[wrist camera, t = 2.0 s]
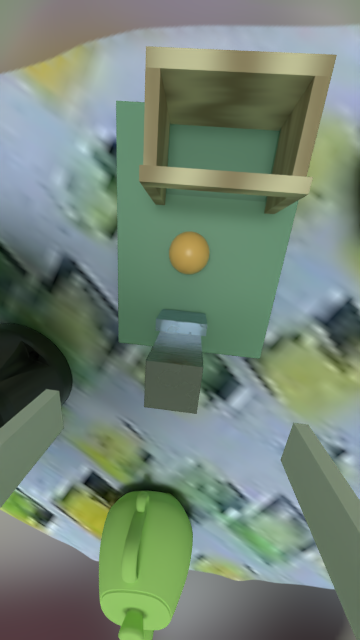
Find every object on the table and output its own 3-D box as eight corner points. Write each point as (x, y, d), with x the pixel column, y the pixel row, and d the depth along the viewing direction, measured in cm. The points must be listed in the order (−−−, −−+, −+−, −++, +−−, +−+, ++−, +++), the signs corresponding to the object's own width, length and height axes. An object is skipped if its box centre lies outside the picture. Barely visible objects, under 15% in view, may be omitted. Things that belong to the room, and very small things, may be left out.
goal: (156, 205, 20) (138, 181, 14) (160, 109, 17) (141, 28, 11) (272, 215, 19) (308, 194, 13) (293, 117, 17) (348, 36, 11)
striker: (160, 348, 24) (137, 406, 14) (162, 308, 22) (139, 344, 13) (199, 352, 24) (203, 414, 14) (205, 313, 22) (212, 352, 13)
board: (121, 339, 25) (118, 342, 24) (120, 109, 18) (116, 100, 17) (257, 354, 25) (259, 358, 24) (313, 120, 17) (320, 112, 16)
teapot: (196, 549, 38) (196, 687, 26) (124, 544, 40) (92, 673, 27) (189, 471, 32) (186, 605, 20) (104, 469, 33) (50, 593, 21)
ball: (170, 271, 21) (164, 273, 18) (172, 232, 20) (167, 226, 16) (205, 274, 21) (207, 278, 17) (210, 236, 20) (214, 230, 16)
